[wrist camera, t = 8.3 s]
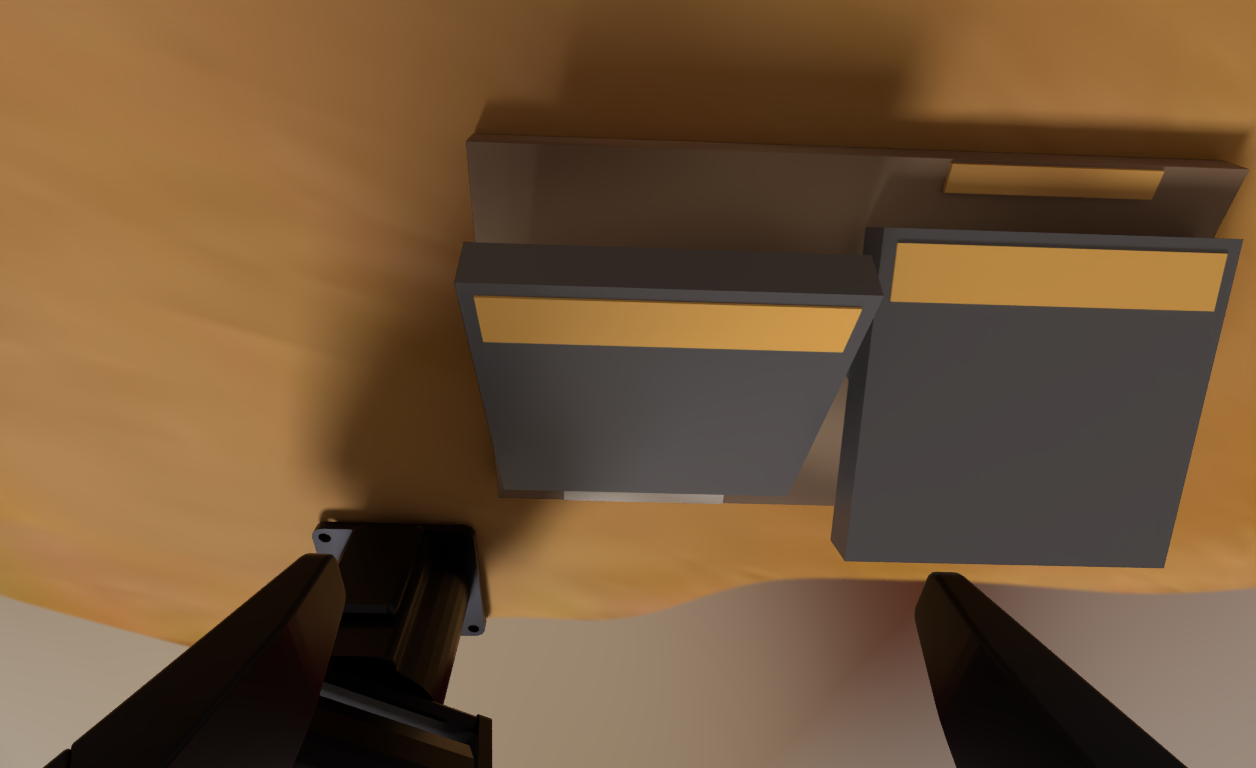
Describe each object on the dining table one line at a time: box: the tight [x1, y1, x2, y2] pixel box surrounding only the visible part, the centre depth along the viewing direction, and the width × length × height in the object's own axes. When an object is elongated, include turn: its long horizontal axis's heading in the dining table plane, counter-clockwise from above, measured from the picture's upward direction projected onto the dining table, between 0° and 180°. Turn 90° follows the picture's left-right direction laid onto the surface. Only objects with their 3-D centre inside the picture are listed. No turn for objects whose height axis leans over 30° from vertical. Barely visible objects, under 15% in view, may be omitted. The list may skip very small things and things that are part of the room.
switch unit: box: [466, 134, 1249, 506], centre depth 22 cm, size 13×22×2 cm, turn 88°
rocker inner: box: [454, 242, 884, 496], centre depth 20 cm, size 10×10×2 cm
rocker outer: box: [831, 227, 1243, 568], centre depth 20 cm, size 10×10×2 cm
